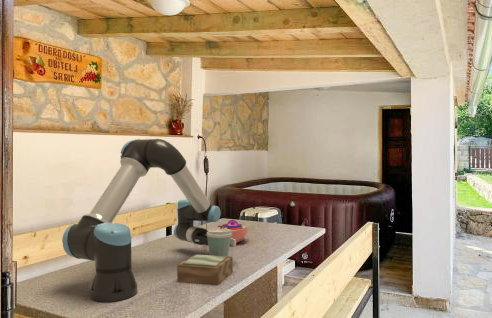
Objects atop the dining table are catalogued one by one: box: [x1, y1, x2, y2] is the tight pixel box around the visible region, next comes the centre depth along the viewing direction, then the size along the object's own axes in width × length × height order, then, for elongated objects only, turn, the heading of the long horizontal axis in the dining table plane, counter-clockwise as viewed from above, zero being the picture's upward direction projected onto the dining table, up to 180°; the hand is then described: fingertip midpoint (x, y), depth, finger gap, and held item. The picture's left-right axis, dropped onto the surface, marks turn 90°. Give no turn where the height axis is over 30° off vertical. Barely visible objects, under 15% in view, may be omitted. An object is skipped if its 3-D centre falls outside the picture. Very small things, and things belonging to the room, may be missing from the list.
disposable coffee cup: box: [207, 228, 232, 256], centre depth 168 cm, size 11×11×15 cm
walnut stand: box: [176, 254, 234, 286], centre depth 153 cm, size 16×16×6 cm
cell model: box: [215, 219, 248, 244], centre depth 210 cm, size 17×20×11 cm
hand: (231, 243), depth 168 cm, fingers closed on disposable coffee cup, 4 cm apart
